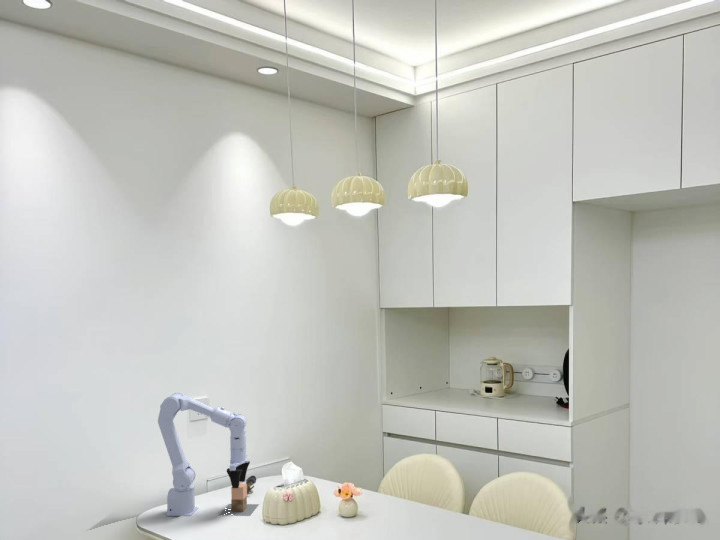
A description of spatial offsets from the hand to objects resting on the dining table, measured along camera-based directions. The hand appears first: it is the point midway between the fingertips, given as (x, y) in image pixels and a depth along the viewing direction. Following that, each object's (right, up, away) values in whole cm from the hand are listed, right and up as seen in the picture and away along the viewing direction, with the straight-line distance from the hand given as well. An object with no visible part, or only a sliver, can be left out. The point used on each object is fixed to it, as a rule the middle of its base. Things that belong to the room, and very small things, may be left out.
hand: (238, 484), depth 227 cm
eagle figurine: (0, -11, +19) cm, 22 cm away
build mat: (0, -10, 0) cm, 10 cm away
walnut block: (0, -9, 0) cm, 9 cm away
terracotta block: (0, -5, 0) cm, 5 cm away
